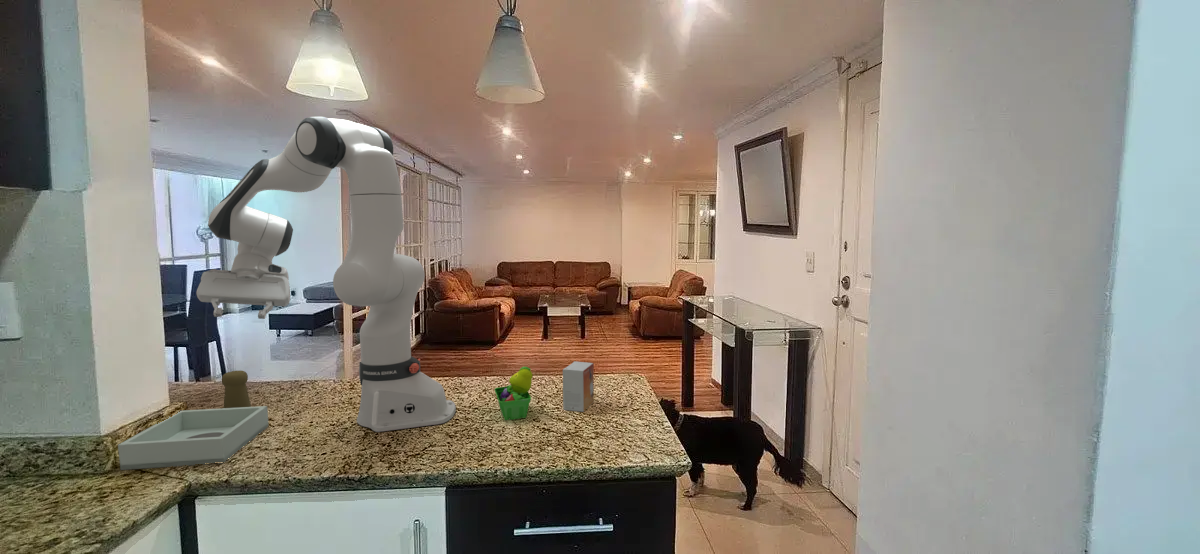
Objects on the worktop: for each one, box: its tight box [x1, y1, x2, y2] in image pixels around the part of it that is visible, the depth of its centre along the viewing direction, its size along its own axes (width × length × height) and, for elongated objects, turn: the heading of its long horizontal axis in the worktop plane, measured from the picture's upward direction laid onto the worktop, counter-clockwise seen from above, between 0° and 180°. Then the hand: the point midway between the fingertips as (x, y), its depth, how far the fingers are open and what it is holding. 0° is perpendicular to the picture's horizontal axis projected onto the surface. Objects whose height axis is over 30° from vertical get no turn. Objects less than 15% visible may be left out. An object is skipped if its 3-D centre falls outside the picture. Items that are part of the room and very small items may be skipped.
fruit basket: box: [494, 366, 533, 421], centre depth 126 cm, size 11×9×11 cm
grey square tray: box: [117, 405, 270, 471], centre depth 108 cm, size 18×18×5 cm
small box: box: [562, 361, 595, 413], centre depth 130 cm, size 8×6×10 cm
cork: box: [221, 370, 252, 408], centre depth 125 cm, size 6×6×11 cm
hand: (239, 316), depth 131 cm, fingers open, 8 cm apart
